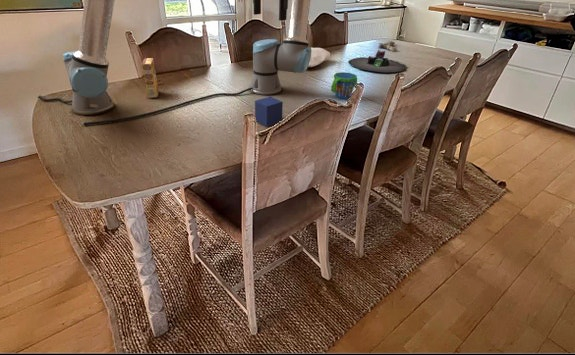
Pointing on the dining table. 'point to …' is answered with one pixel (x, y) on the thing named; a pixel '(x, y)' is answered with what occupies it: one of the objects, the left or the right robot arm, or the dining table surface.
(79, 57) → the left robot arm
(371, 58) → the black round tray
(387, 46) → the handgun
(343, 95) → the snack cup
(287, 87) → the dining table surface
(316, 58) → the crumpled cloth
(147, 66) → the candy box
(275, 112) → the blue cube
